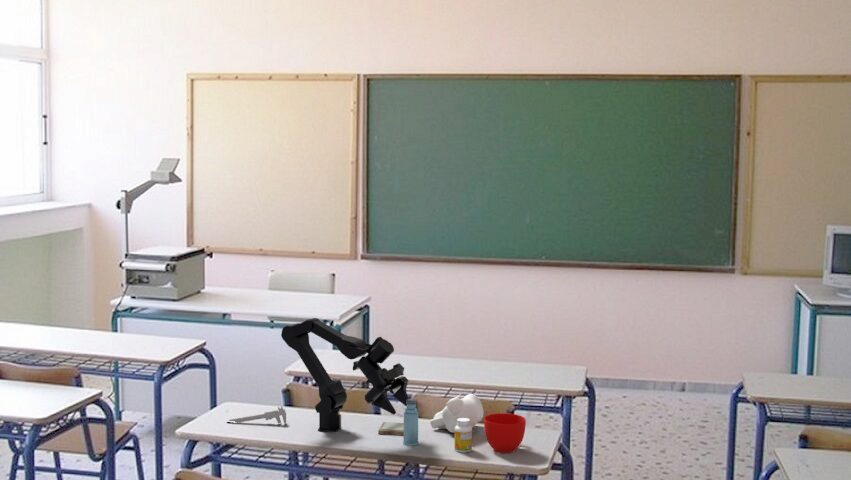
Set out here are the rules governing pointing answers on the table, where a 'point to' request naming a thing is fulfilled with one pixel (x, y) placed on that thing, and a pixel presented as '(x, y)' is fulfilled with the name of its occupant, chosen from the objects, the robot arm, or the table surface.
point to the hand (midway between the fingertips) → (402, 410)
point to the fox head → (458, 412)
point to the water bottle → (411, 424)
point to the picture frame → (391, 428)
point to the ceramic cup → (504, 431)
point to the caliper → (264, 416)
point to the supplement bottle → (463, 435)
